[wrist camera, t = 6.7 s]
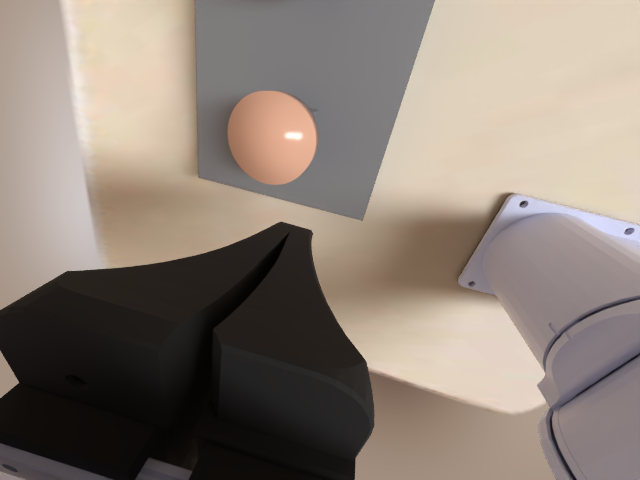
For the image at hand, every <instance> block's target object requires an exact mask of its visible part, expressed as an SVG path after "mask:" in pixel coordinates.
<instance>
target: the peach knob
mask: <svg viewBox="0 0 640 480" xmlns="http://www.w3.org/2000/svg"><path fill="white" fill-rule="evenodd" d="M228 142H229V146H230V150H231V152H232V155H233V157H234V159H235V160H236V162H237V163H238V165H239V166H240V167H241V169H242V170H243V171H244V172H245V173H247V174H248V175H249V176H250V177H252V178H254V179H255V180H257V181H259V182H262V183H265V184H270V185H281V184H286V183H288V182H291V181H293V180H295V179H296V178H298V177H299V176H300V175H301V174H302V173H303V172H304V171H305V170H306V168H307V167H308V166H309V165H310V163H311V162H312V161H313V159H314V157H315V155H316V152H317V149H318V143H319V133H318V127H317V123H316V120H315V118H314V116H313V114H312V112H311V111H310V109H309V108H308V107H307V106H306V104H305V103H304V102H302V101H301V100H300V99H299V98H297V97H296V96H294V95H292V94H289V93H286V92H282V91H257V92H254V93H251V94H249V95H247V96H246V97H244V98H243V99H242V100H241V101H240V102H239V103H238V104H237V105H236V106H235V108H234V109H233V111H232V113H231V116H230V119H229V123H228Z"/></svg>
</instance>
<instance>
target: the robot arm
mask: <svg viewBox="0 0 640 480" xmlns="http://www.w3.org/2000/svg"><path fill="white" fill-rule="evenodd" d="M522 201H525V204H524V205H522V206H519V205H520V203H521V202H522ZM628 228H629V229H628ZM626 229H628V230H627V231H625V230H626ZM312 235H313V233H312V231H311V230H309V229H305V228H302V227H298V226H295V225H291V224H287V223H284V222H279V223H277V224H275V225H273V226H271V227H269V228H267V229H265V230H263V231H261V232H259V233H257V234H255V235H253V236H251V237H248V238H246V239H243V240H241V241H239V242H236V243H234V244H231V245H229V246H226V247H223V248H220V249H217V250H214V251H210V252H207V253H204V254H200V255H196V256H191V257H187V258H182V259H177V260H173V261H168V262H162V263H155V264H149V265H141V266H133V267H124V268H112V269H98V270H84V271H67V272H65V273H63V274H61V275H60V276H58V277H56V278H55V279H53V280H51V281H49V282H48V283H46V284H44V285H43V286H41V287H39V288H37V289H36V290H34V291H32V292H31V293H29V294H27V295H25V296H24V297H22V298H21V299H19V300H17V301H16V302H14V303H12V304H10V305H8V306H7V307H5V308H3V309H2V310H0V351H1V352H2V354H3V356H4V357H5V359H6V361H7V362H8V364H9V365H10V367H11V369H12V371H13V372H14V374H15V376H16V377H17V379H18V381H19V384H17V385H16V386H15V387H14V388H12V389H11V390H10V391H9V392H8V393H6V394H5V395H4V396H3V397H2V398H0V480H354V479H355V458H356V456H357V455H358V453H359V452H360V450H361V449H362V447H363V446H364V444H365V443H366V441H367V440H368V438H369V436H370V435H371V433H372V430H373V428H374V403H373V395H372V389H371V382H370V377H369V372H368V367H367V363H366V361H365V359H364V358H363V357H362V355H361V354H360V353H359V351H358V350H357V349H356V348H355V346H354V345H353V344H352V342H351V341H350V340H349V339H348V337H347V336H346V335H345V333H344V331H343V330H342V328H341V327H340V325H339V324H338V322H337V320H336V318H335V316H334V315H333V313H332V311H331V309H330V307H329V305H328V303H327V301H326V299H325V297H324V294H323V292H322V290H321V287H320V284H319V281H318V278H317V275H316V271H315V267H314V262H313V256H312V249H311V239H312ZM472 281H473V283H471V284H469V282H472ZM458 283H459V285H460V286H462V287H465V288H469V289H473V290H476V291H480V292H484V293H488V294H491V295H495V296H496V297H497V298H498V300H499V301H500V303H501V304H502V306H503V307H504V309H505V311H506V312H507V314H508V315H509V317H510V318H511V320H512V322H513V323H514V325H515V326H516V328H517V329H518V331H519V333H520V334H521V336H522V337H523V339H524V340H525V342H526V344H527V345H528V347H529V348H530V350H531V351H532V353H533V354H534V356H535V358H536V359H537V361H538V362H539V364H540V365H541V367H542V369H543V370H544V372H545V373H546V374H545V377H544V378H543V380H542V381H541V382H539V383H538V385H537V386H538V388H539V390H540V391H541V393H542V395H543V396H544V398H545V400H546V402H547V403H548V405H549V407H550V408H549V409H547V410H546V411H544V413H543V414H542V415H541V417H540V419H539V423H538V433H539V438H540V443H541V446H542V449H543V451H544V454H545V457H546V459H547V461H548V464H549V466H550V468H551V470H552V472H553V475H554V477H555V478H556V480H640V225H639V224H635V223H631V222H627V221H623V220H619V219H615V218H612V217H608V216H604V215H600V214H596V213H592V212H588V211H584V210H580V209H576V208H572V207H569V206H565V205H561V204H557V203H553V202H549V201H545V200H541V199H537V198H533V197H529V196H525V195H522V194H516V193H515V194H512V195H510V196H509V197H508V198H507V199H506V201H505V202H504V204H503V206H502V207H501V209H500V211H499V212H498V214H497V215H496V217H495V219H494V220H493V222H492V224H491V225H490V227H489V229H488V230H487V232H486V234H485V235H484V237H483V238H482V240H481V242H480V243H479V245H478V247H477V248H476V250H475V252H474V253H473V255H472V257H471V258H470V260H469V262H468V263H467V265H466V266H465V268H464V270H463V271H462V273H461V275H460V276H459V278H458ZM6 473H7V474H6ZM9 474H10V475H9ZM12 475H13V476H12ZM15 476H16V477H15ZM18 477H19V478H18ZM21 478H22V479H21Z"/></svg>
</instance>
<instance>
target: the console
mask: <svg viewBox="0 0 640 480" xmlns="http://www.w3.org/2000/svg"><path fill="white" fill-rule="evenodd" d="M434 2H435V0H195V28H196V80H197V132H198V177H199V178H202V179H206V180H210V181H214V182H218V183H221V184H225V185H229V186H233V187H237V188H240V189H244V190H248V191H252V192H256V193H259V194H263V195H267V196H271V197H275V198H278V199H282V200H286V201H290V202H294V203H297V204H301V205H305V206H309V207H313V208H316V209H320V210H324V211H328V212H332V213H335V214H339V215H343V216H347V217H350V218H354V219H358V220H362V221H363V217H364V214H365V211H366V208H367V205H368V202H369V199H370V196H371V193H372V190H373V187H374V184H375V181H376V178H377V175H378V172H379V169H380V166H381V163H382V160H383V157H384V154H385V151H386V148H387V145H388V141H389V138H390V135H391V132H392V129H393V126H394V123H395V120H396V117H397V114H398V111H399V108H400V105H401V102H402V99H403V96H404V93H405V90H406V87H407V84H408V81H409V78H410V75H411V72H412V69H413V65H414V62H415V59H416V56H417V53H418V50H419V47H420V44H421V41H422V38H423V35H424V32H425V29H426V26H427V23H428V20H429V17H430V14H431V11H432V8H433V5H434ZM257 91H282V92H286V93H289V94H292V95H294V96H296V97H297V98H299V99H300V100H301V101H302V102H304V103H305V104H306V106H307V107H308V108H309V109H310V111H311V112H312V114H313V116H314V118H315V120H316V123H317V127H318V133H319V143H318V149H317V152H316V155H315V157H314V159H313V161H312V162H311V163H310V165H309V166H308V167H307V168H306V170H305V171H304V172H303V173H302V174H301V175H300V176H299V177H298V178H296V179H295V180H293V181H291V182H288V183H286V184H281V185H270V184H265V183H262V182H259V181H257V180H255V179H254V178H252V177H250V176H249V175H248V174H247V173H245V172H244V171H243V170H242V169H241V167H240V166H239V165H238V163H237V162H236V160H235V159H234V157H233V155H232V152H231V150H230V146H229V142H228V123H229V119H230V116H231V113H232V111H233V109H234V108H235V106H236V105H237V104H238V103H239V102H240V101H241V100H242V99H243V98H244V97H246V96H247V95H249V94H251V93H254V92H257Z"/></svg>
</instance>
